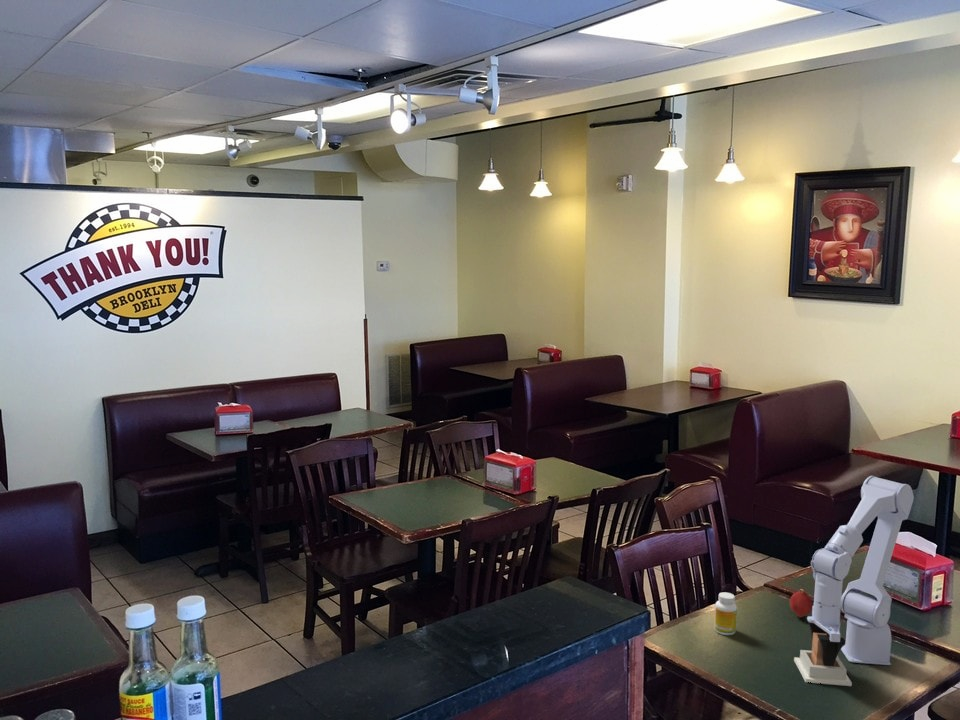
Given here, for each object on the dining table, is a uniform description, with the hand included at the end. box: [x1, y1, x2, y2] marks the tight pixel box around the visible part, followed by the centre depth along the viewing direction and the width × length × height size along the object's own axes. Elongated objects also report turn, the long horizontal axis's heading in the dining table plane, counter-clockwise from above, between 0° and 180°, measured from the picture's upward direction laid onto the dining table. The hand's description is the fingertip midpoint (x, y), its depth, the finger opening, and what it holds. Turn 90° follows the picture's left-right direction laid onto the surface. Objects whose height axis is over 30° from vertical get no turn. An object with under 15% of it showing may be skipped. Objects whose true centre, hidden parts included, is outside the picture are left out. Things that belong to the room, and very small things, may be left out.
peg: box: [811, 633, 835, 667], centre depth 180 cm, size 4×4×8 cm
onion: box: [789, 588, 814, 618], centre depth 210 cm, size 6×6×8 cm
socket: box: [793, 649, 853, 687], centre depth 181 cm, size 10×10×3 cm
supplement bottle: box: [713, 591, 738, 636], centre depth 201 cm, size 5×5×10 cm
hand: (823, 656), depth 181 cm, fingers open, 7 cm apart
